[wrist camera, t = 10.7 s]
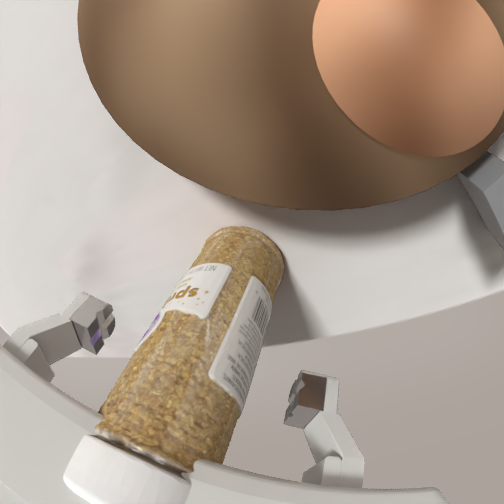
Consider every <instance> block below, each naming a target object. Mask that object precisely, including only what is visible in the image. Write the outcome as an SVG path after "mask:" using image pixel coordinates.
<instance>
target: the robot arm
mask: <svg viewBox="0 0 504 504" xmlns="http://www.w3.org/2000/svg"><path fill="white" fill-rule="evenodd" d="M112 311H113V309H112V305H110V304H108V303H106V302H104V301H102V300H99V299H97V298H95V297H93V296H91V295H89V294H87V293H85V292H83V293H80V294H79V295H78V296H77V297H76V298H75V300H74V301H73V302H72V303H71V304H70V305H69V306H68V307H67V308H66V309H65V310H64V311H63V313H62V314H59V313H58V314H56V315H53V316H50V317H47V318H44V319H42V320H39V321H36V322H33V323H31V324H28V325H25V326H22V327H20V328H18V329H17V330H16V331H15V332H14V333H13V334H12V336H11V337H10V338H9V339H8V340H7V341H6V342H5V344H4V345H3V346H1V345H0V504H91V503H90V502H88V501H86V500H85V499H83V498H82V497H80V496H79V495H77V494H76V493H74V492H73V491H72V490H71V489H70V488H69V487H68V486H67V485H66V484H65V482H64V479H63V476H64V473H65V470H66V468H67V466H68V464H69V462H70V460H71V458H72V456H73V454H74V452H75V450H76V449H77V447H78V445H79V443H80V442H81V440H82V438H83V437H84V435H98V434H97V433H96V431H95V426H96V425H97V424H99V423H100V422H101V421H102V420H103V419H104V417H103V415H102V414H100V413H98V412H96V411H94V410H93V409H91V408H89V407H88V406H86V405H84V404H82V403H81V402H79V401H77V400H75V399H74V398H73V397H71V396H69V395H68V394H66V393H65V392H63V391H62V390H60V389H58V388H57V387H55V386H54V385H53V384H51V383H50V382H51V380H52V379H53V377H54V372H53V370H52V368H51V367H50V365H51V364H53V363H55V362H57V361H59V360H61V359H62V358H64V357H66V356H68V355H70V354H72V353H74V352H76V351H77V350H79V349H81V347H82V348H84V349H86V350H88V351H90V352H92V353H94V354H96V355H97V353H98V352H99V350H100V349H101V348H102V346H103V345H104V339H106V338H108V337H110V335H111V334H112V332H113V330H114V327H115V318H114V316H113V315H112V314H111V313H112ZM338 391H339V379H338V378H335V377H330V376H326V375H322V374H318V373H314V372H309V371H305V370H301V372H300V373H299V376H298V379H297V380H295V382H294V384H293V386H292V388H291V391H290V395H289V400H288V401H289V403H290V405H289V407H288V408H287V410H286V414H285V419H284V424H286V425H290V426H294V427H298V428H303V431H304V433H305V436H306V439H307V441H308V444H309V447H310V449H311V452H312V454H313V457H314V460H315V462H316V465H315V466H313V467H312V468H310V469H309V470H307V471H305V472H304V473H303V477H302V482H297V481H291V480H285V479H280V478H275V477H269V476H265V475H260V474H256V473H252V472H248V471H244V470H240V469H237V468H233V467H229V466H226V465H222V464H219V463H216V462H213V461H209V460H206V459H200V460H197V461H196V462H195V463H194V465H193V468H194V472H192V473H184V472H183V473H181V474H182V476H183V477H184V478H185V479H186V480H187V481H188V482H189V483H190V484H191V485H192V486H191V489H190V492H189V495H188V497H187V500H186V502H185V504H449V503H448V501H447V500H446V498H445V497H444V495H443V494H442V493H441V492H440V490H439V489H437V488H435V487H427V488H409V489H365V488H362V484H363V473H364V461H365V459H364V457H363V455H362V454H361V452H360V450H359V448H358V446H357V444H356V443H355V441H354V439H353V437H352V435H351V433H350V432H349V430H348V428H347V426H346V424H345V422H344V421H343V419H342V417H341V415H339V414H337V406H338Z"/></svg>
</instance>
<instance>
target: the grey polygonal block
mask: <svg viewBox="0 0 504 504" xmlns="http://www.w3.org/2000/svg"><path fill="white" fill-rule="evenodd" d="M456 175H457V176H458V178H459V180H460V181H461V183H462V184H463V186H464V188H465V189H466V191H467V193H468V195H469V196H470V198H471V200H472V202H473V203H474V205H475V207H476V209H477V211H478V212H479V214H480V216H481V218H482V220H483V222H484V224H485V226H486V228H487V229H488V230H489V232H490V233H491V234H492V235H493V237H494V238H495V239H496V240H497V242H498V243H499V244H500V246H501V247H502V248H503V250H504V161H503V160H501V159H499V158H498V157H496V156H494V155H492V154H491V153H489V152H487V151H485V152H484V153H483V154H482V155H481V156H480V157H479V158H478V159H477V160H476V161H475V162H473V163H472V164H470V165H469V166H468V167H466V168H465V169H463V170H462V171H460V172H459V173H458V174H456Z"/></svg>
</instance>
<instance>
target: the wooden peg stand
mask: <svg viewBox="0 0 504 504" xmlns="http://www.w3.org/2000/svg"><path fill="white" fill-rule="evenodd" d="M78 34H79V43H80V48H81V52H82V57H83V62H84V64H85V67H86V70H87V73H88V75H89V78H90V81H91V83H92V85H93V87H94V89H95V91H96V93H97V95H98V96H99V98H100V100H101V102H102V104H103V105H104V107H105V108H106V109H107V111H108V112H109V113H110V115H111V116H112V118H113V119H114V120H115V122H116V123H117V124H118V125H119V126H120V127H121V128H122V130H123V131H124V132H125V133H126V134H127V135H128V136H129V137H130V138H131V139H132V140H133V141H134V142H135V143H136V144H137V145H139V146H140V147H141V148H142V149H143V150H145V151H146V152H147V153H148V154H149V155H151V156H152V157H153V158H154V159H156V160H157V161H159V162H160V163H162V164H164V165H165V166H167V167H168V168H170V169H171V170H173V171H174V172H176V173H178V174H179V175H181V176H183V177H185V178H187V179H189V180H191V181H193V182H196V183H198V184H200V185H202V186H204V187H206V188H208V189H211V190H214V191H217V192H220V193H223V194H225V195H228V196H231V197H234V198H237V199H241V200H245V201H250V202H254V203H258V204H262V205H266V206H274V207H282V208H289V209H296V210H342V209H354V208H365V207H369V206H374V205H379V204H384V203H389V202H393V201H397V200H400V199H403V198H406V197H409V196H412V195H415V194H418V193H420V192H423V191H426V190H428V189H430V188H432V187H434V186H436V185H438V184H440V183H442V182H444V181H446V180H448V179H450V178H452V177H453V176H455V175H456V174H458V173H459V172H460V171H462V170H463V169H465V168H466V167H468V166H469V165H470V164H472V163H473V162H475V161H476V160H477V159H478V158H479V157H480V156H481V155H482V154H483V153H484V152H485V151H486V150H487V149H488V148H489V147H490V146H491V145H492V144H493V143H494V142H495V141H496V140H497V139H498V137H499V136H500V135H501V133H502V132H503V131H504V0H79V5H78Z"/></svg>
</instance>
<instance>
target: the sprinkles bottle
mask: <svg viewBox="0 0 504 504" xmlns="http://www.w3.org/2000/svg"><path fill="white" fill-rule="evenodd" d="M283 272H284V263H283V259H282V255H281V253H280V251H279V250H278V248H277V246H276V245H275V244H274V243H273V242H272V241H271V240H270V239H269V238H268V237H267V236H265V235H264V234H263V233H261V232H260V231H258V230H254V229H252V228H249V227H228V228H222V229H220V230H218V231H217V232H215V233H214V234H213V235H211V236H210V237H209V238H208V239H207V240H206V242H205V245H204V246H203V248H202V252H201V253H200V255H199V256H198V258H197V259H196V260H195V262H194V263H193V265H192V266H191V268H190V269H189V271H187V272H186V273H185V274H184V276H183V277H182V278H181V280H180V281H179V283H178V284H177V286H176V287H175V289H174V291H173V292H172V294H171V295H170V297H169V298H168V300H167V301H166V303H165V304H164V306H163V308H162V309H161V310H160V312H159V313H158V315H157V317H156V318H155V320H154V321H153V323H152V324H151V326H150V327H149V329H148V330H147V332H146V333H145V335H144V336H143V338H142V339H141V341H140V343H139V344H138V346H137V347H136V349H135V350H134V352H133V355H132V358H131V359H130V361H129V363H128V364H127V366H126V368H125V369H124V370H123V372H122V374H121V376H120V377H119V378H118V381H117V382H116V383H115V386H114V387H113V389H112V390H111V392H110V393H109V395H108V398H107V400H106V401H105V402H104V404H103V405H102V406H101V408H100V410H99V412H98V413H100V414H102V415H103V417H104V419H103V420H102V421H101V422H100V423H99V424H97V425H96V426H95V431H96V433H97V434H98V435H84V437H83V438H82V440H81V442H80V443H79V445H78V447H77V449H76V450H75V452H74V454H73V456H72V458H71V460H70V462H69V464H68V466H67V468H66V470H65V473H64V476H63V479H64V482H65V484H66V485H67V486H68V487H69V488H70V489H71V490H72V491H73V492H74V493H76V494H77V495H79V496H80V497H82V498H83V499H85V500H86V501H88V502H90V503H91V504H185V502H186V500H187V497H188V495H189V492H190V489H191V486H192V485H191V484H190V483H189V482H188V481H187V480H186V479H185V478H184V477H183V476H182V474H181V473H183V472H184V473H192V472H194V468H193V465H194V463H195V462H196V461H197V460H200V459H206V460H209V461H213V462H216V463H219V464H222V463H223V461H224V458H225V454H226V452H227V449H228V446H229V442H230V441H231V437H232V434H233V430H234V428H235V425H236V422H237V420H238V419H239V417H240V415H241V413H242V410H243V407H244V404H245V401H246V397H247V394H248V391H249V388H250V384H251V381H252V378H253V375H254V371H255V368H256V365H257V361H258V358H259V355H260V351H261V348H262V345H263V341H264V338H265V335H266V331H267V328H268V324H269V321H270V317H271V313H272V303H273V299H274V296H275V292H276V289H277V287H278V286H279V284H280V282H281V279H282V277H283Z"/></svg>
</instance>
